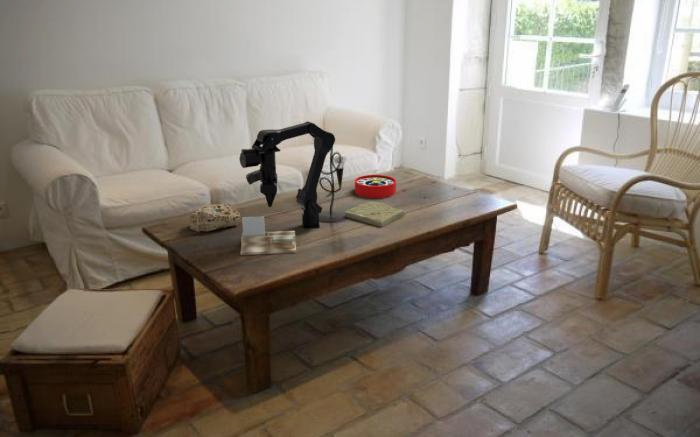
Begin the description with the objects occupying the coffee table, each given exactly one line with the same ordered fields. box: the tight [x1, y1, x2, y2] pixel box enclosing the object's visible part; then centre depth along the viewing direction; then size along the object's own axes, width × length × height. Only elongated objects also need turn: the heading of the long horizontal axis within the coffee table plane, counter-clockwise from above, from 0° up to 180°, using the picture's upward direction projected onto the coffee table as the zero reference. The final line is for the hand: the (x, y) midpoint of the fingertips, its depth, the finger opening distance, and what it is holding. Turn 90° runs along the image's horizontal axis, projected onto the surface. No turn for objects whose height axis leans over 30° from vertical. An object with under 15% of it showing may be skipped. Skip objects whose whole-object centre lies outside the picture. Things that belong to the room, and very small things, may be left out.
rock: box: [189, 203, 242, 233], centre depth 235 cm, size 21×14×10 cm
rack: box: [240, 230, 297, 256], centre depth 215 cm, size 20×14×4 cm
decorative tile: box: [344, 200, 405, 228], centre depth 246 cm, size 19×20×4 cm
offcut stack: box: [270, 235, 296, 249], centre depth 212 cm, size 9×4×4 cm, turn 96°
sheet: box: [241, 215, 266, 237], centre depth 215 cm, size 8×2×10 cm, turn 96°
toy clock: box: [354, 174, 397, 199], centre depth 278 cm, size 20×6×20 cm
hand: (270, 203), depth 222 cm, fingers open, 9 cm apart
